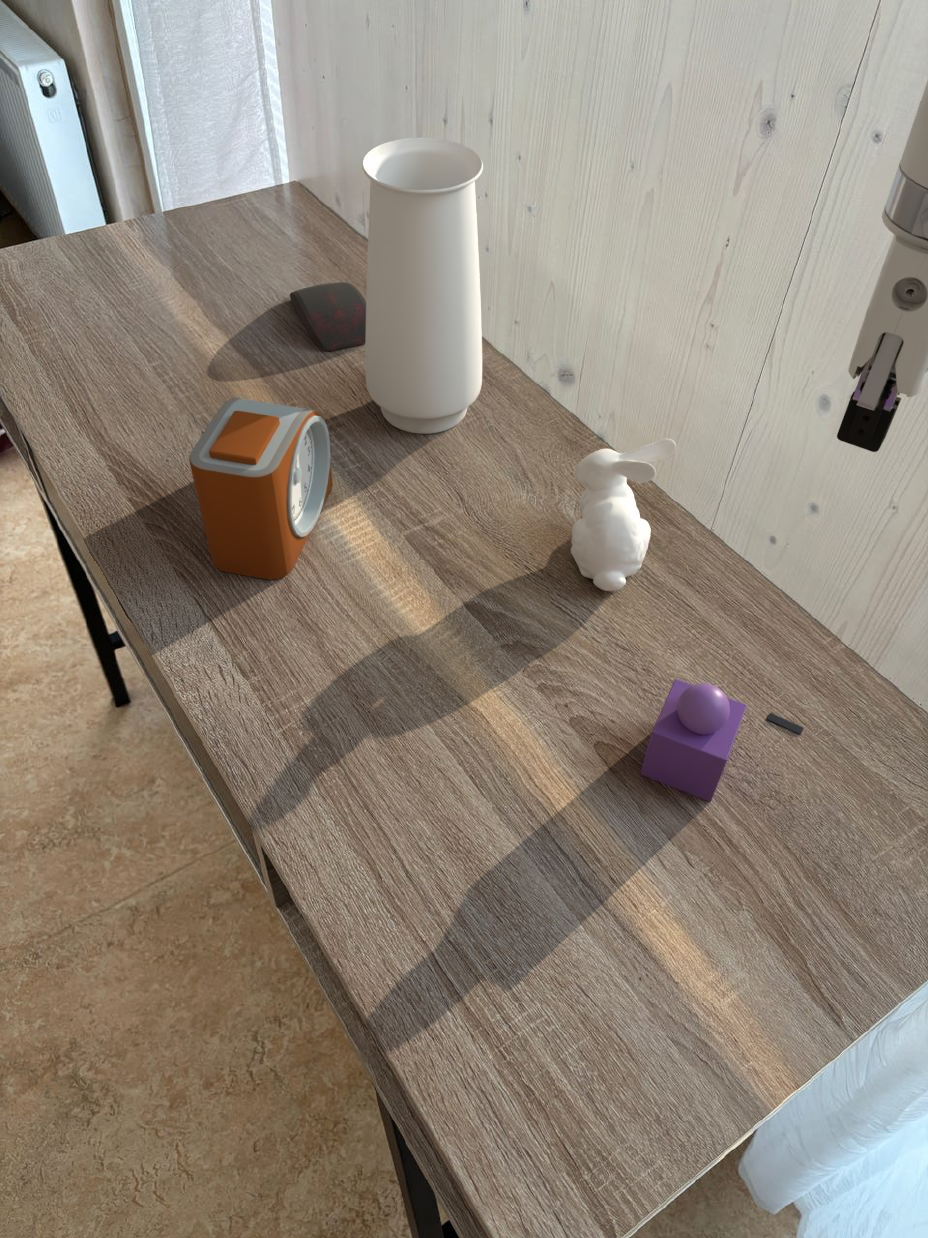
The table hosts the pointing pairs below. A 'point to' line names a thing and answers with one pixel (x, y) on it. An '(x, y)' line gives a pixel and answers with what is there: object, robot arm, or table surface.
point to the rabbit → (613, 513)
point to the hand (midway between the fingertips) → (859, 440)
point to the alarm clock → (261, 484)
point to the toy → (693, 738)
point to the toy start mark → (785, 723)
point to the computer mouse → (332, 314)
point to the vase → (423, 283)
